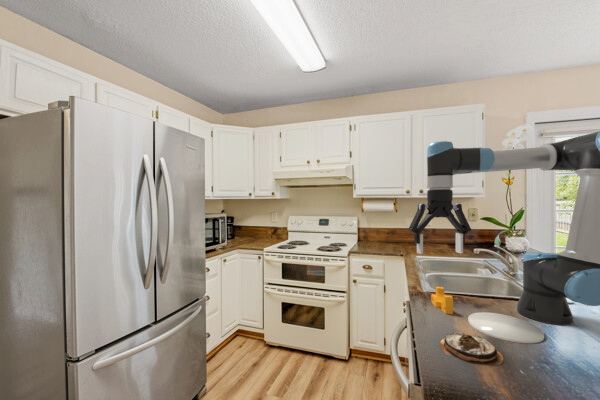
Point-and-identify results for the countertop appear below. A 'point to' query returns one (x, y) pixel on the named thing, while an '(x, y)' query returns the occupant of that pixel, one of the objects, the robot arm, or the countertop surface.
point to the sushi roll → (471, 348)
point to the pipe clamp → (442, 301)
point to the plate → (506, 327)
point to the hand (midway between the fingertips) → (439, 253)
